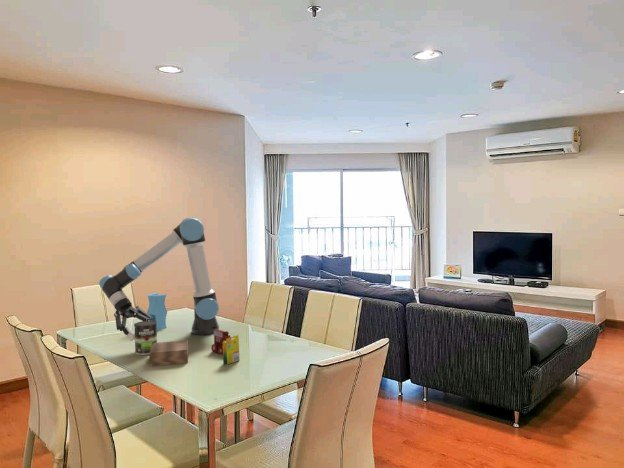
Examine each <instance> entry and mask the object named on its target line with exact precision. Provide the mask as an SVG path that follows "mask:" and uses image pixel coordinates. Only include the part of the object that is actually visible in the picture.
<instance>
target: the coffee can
mask: <svg viewBox="0 0 624 468" xmlns="http://www.w3.org/2000/svg"><path fill="white" fill-rule="evenodd" d="M133 327H134V346H135V347H134V351H135V352H134V354H135V355H137V356H145V355H146V356H147V355H148V356H150V350H151V348H152V345H153V343H158V331H157V322H155V321H142V320H141V321H137V322H135V323H134V324H133Z"/></svg>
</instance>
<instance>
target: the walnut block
mask: <svg viewBox="0 0 624 468" xmlns="http://www.w3.org/2000/svg"><path fill="white" fill-rule="evenodd" d="M189 347H190V346H189V339H186V340H185V339H184V340H175V341H174V340H173V341H160V342H158V341H157V343H153V345H152V348H151V350H150V354H149V367H159V366H160V367H161V366H169V365H179V364H188V363H189V353H190V348H189Z"/></svg>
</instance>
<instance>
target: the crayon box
mask: <svg viewBox="0 0 624 468" xmlns="http://www.w3.org/2000/svg"><path fill="white" fill-rule="evenodd" d="M230 339H231V340H230ZM222 361H223V364H225V365H230V364H232V363H236V362H238V361H240V341H239V334H237V335H234V336H230V338H227V339H226V341H224V342H223V355H222Z"/></svg>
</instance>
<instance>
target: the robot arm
mask: <svg viewBox="0 0 624 468" xmlns="http://www.w3.org/2000/svg"><path fill="white" fill-rule="evenodd" d="M204 227H205V226H204V224H203V223H202V221H201V220H200V219H198V218H196V217H186V218H185V219H183V220H182V221H181V222H180V223H179V224H178V225H177V226H176V227H175V228H173V229H172V232H171V233H169V234H168V235H167V236H165V237H164V238H163V239H162V240H160V241H158V242H157V243H156V244H155V245H153V246H152V247H149V249H147V250H146V251H145V252H144V253H141V255H139V256H138V257H137V258H136V259H134V260H132V261H131V262H130V263H128V264H127V265H125V266H124V267H123V268H122V270H121V271H119V272H118V273H117V274H115V275H111V274H108V275H106V276H103V277H101V279H100V280H99V282H98V284H99V286H100V288H101V290H102V292H103V293H104V294H105V296H106V297H107V299H108V300H109V302H110V303H111V305H112V306H113V307H114V309H115V312H114V313H113V316H114V318H115V327H116V330H117V331H119V332H123V334H124V335H125V336H126V337H127V338H128V339H129V341H130V342H131V341H133V340H135V334H133V333H132V331H131V330H130V328H129V327H128V326H127V325H126V324H127V321H128V319H130V318H134V319H135V318H136V319H138V320H140V321H141V322H142V321H151V319H152V317H151V316H150V315H149V314H147V311H146V312H145V310H143V309H142V308H140V306H139V305H136V307H134V306H133V305H132V302H131V300H130V299H129V298H128V296H127V295H126V294H125V292H124V290H123V289H124V288H126V286H128V285H130V284H131V283H132V282H134V281H135V280H137V279H138V278H139V277H140V276H141V275H142V273H143V272H144V271H146V270H147V269H149V267H151V266H152V265H154V264H155V263H156V262H158V261H159V260H160V259H162V258H163V257H165V256H166V255H168V254H169V253H170V252H171V251H173V250H174V249H176V248H177V247H179V246H180V245H181V244H182V246H183V247H185V249H186V251H187V257H188V262H189V267H190V272H191V278H192V281H193V287H194V292H193V294H192V297H193V308H194V309H193V310H194V314H193V315H194V316H193V318H194V319H193V322H192V326H191V334H193V335H210V334H211V335H212V334H214V330H215V329H218V330H220V326H219V323H218V320H217V314H218V313H219V310H220V306H219V303H218V300H217V295H216V291H215V290H214V289H213V288H212V284H211V279H210V274H209V267H208V264H207V259H206V252H205V248H204V244H205V243H206V237H205V232H204V231H205V228H204ZM121 316H122V317H121Z"/></svg>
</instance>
